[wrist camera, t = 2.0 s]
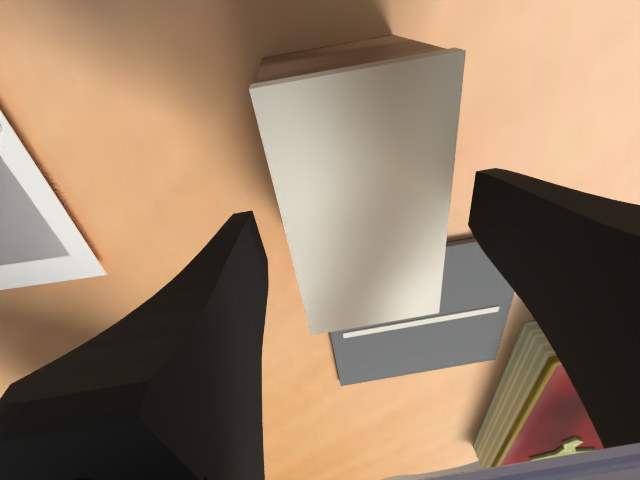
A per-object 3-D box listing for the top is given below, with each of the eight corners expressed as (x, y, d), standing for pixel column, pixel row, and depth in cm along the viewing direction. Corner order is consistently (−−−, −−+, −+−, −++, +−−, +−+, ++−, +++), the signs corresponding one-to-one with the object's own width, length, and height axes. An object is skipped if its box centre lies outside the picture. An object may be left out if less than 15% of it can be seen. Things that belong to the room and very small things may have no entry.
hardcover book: (676, 292, 24) (742, 339, 21) (573, 428, 36) (603, 472, 33) (516, 314, 24) (556, 366, 20) (466, 443, 36) (486, 489, 33)
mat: (340, 381, 26) (340, 386, 25) (317, 265, 19) (317, 270, 18) (492, 354, 26) (495, 360, 25) (527, 228, 19) (532, 232, 18)
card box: (303, 244, 18) (311, 335, 13) (261, 56, 13) (249, 88, 8) (395, 228, 18) (439, 312, 13) (393, 32, 13) (466, 50, 8)
